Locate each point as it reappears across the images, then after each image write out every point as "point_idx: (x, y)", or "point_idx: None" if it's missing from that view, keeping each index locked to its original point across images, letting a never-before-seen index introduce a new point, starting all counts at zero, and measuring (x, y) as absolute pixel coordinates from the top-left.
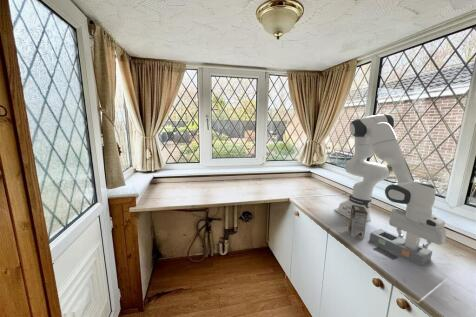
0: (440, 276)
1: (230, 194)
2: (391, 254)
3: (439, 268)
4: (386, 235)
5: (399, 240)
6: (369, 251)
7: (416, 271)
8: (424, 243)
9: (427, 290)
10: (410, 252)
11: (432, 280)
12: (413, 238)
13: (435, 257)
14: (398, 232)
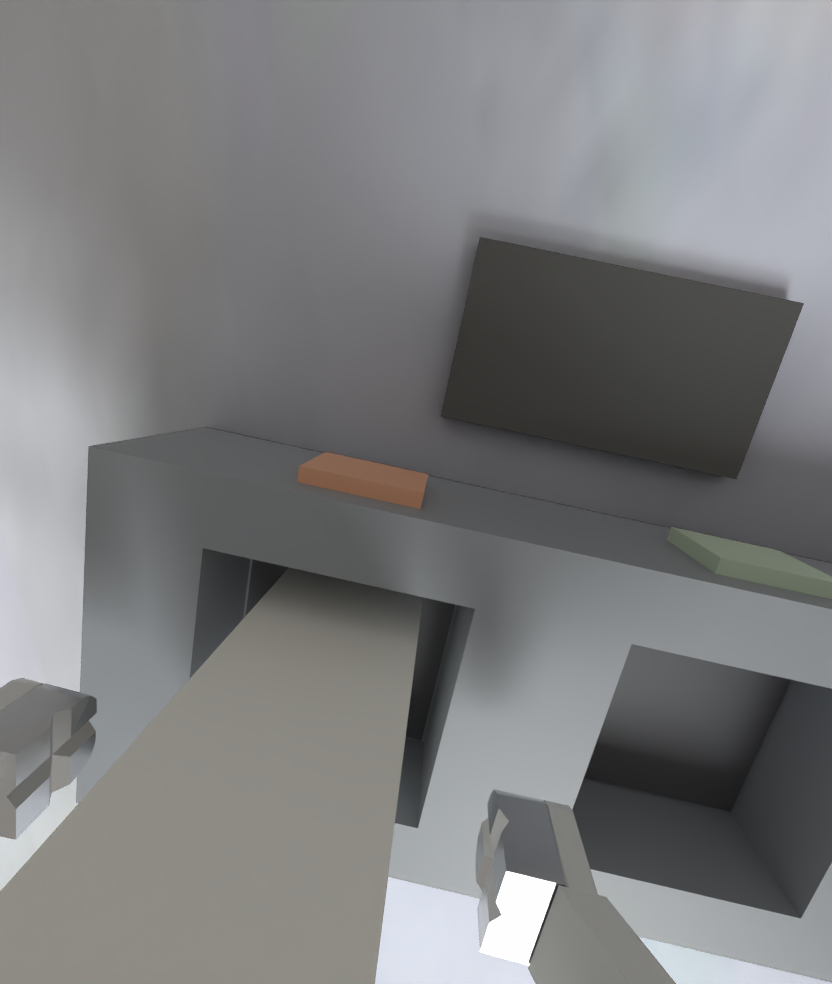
0: (21, 401)
1: None
2: (534, 395)
3: (80, 586)
4: (721, 849)
5: (519, 771)
6: (827, 209)
7: (207, 251)
8: (9, 821)
9: None
10: (289, 482)
11: (38, 201)
12: (170, 824)
13: None
14: (625, 945)
